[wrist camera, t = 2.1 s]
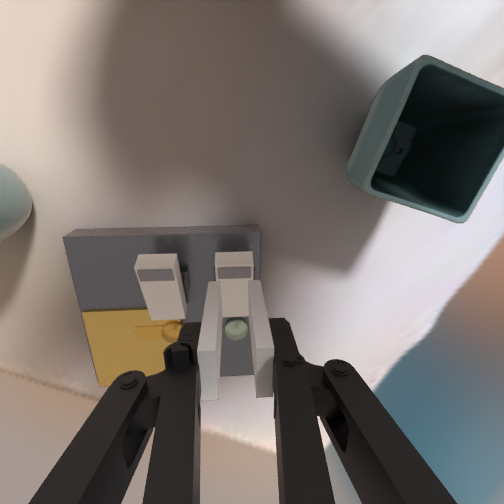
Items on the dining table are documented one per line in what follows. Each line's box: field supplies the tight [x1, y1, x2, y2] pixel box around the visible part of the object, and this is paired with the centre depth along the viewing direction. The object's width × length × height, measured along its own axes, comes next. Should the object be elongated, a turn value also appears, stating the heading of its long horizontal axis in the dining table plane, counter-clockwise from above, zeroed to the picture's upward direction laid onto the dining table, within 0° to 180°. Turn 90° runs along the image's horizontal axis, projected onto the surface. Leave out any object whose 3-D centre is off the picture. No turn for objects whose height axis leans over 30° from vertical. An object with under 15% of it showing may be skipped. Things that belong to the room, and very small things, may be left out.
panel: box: [63, 225, 260, 387], centre depth 31 cm, size 17×18×3 cm
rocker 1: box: [134, 253, 187, 320], centre depth 27 cm, size 7×3×2 cm, turn 2°
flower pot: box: [346, 55, 504, 223], centre depth 24 cm, size 9×9×9 cm
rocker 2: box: [215, 251, 254, 317], centre depth 27 cm, size 7×3×2 cm, turn 2°
